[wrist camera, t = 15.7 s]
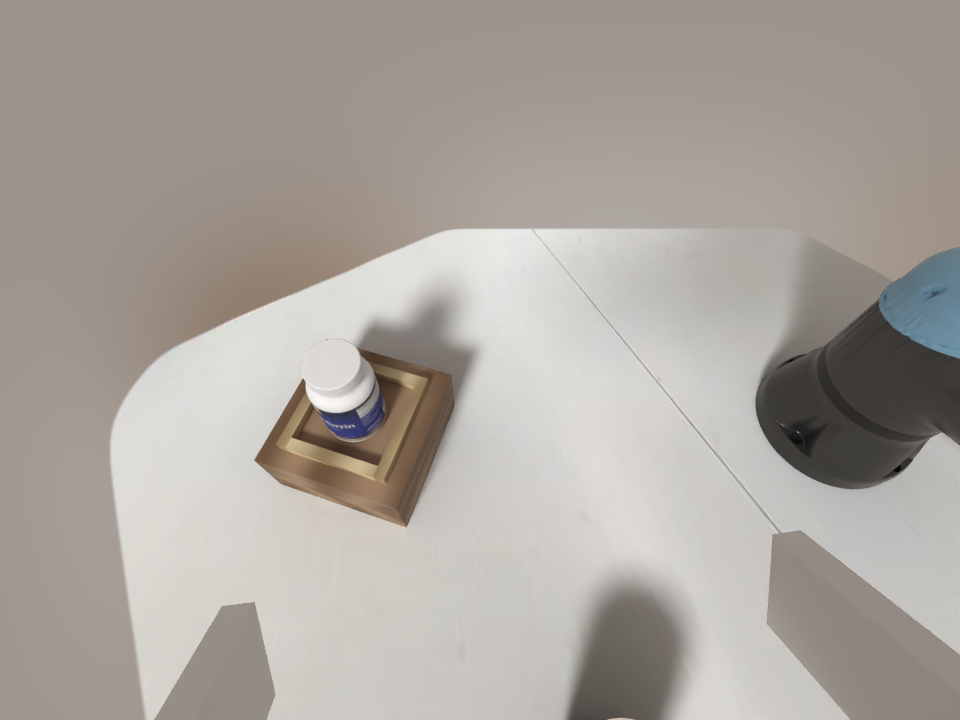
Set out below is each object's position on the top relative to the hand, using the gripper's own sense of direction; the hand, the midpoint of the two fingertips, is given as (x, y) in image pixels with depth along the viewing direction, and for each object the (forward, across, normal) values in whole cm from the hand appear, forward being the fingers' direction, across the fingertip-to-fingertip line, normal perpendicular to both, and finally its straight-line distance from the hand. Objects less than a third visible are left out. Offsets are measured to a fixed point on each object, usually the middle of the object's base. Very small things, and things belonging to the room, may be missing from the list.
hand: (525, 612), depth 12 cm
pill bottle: (+35, -10, -6) cm, 37 cm away
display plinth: (+40, -10, -11) cm, 42 cm away
